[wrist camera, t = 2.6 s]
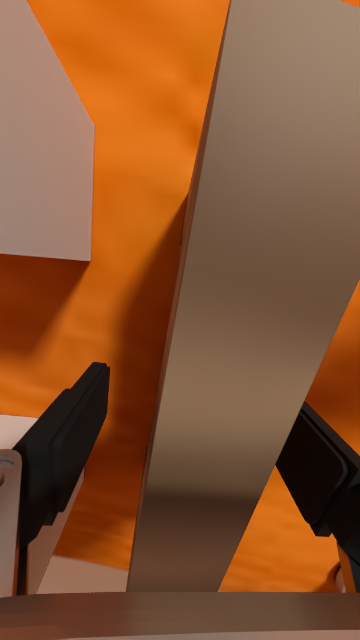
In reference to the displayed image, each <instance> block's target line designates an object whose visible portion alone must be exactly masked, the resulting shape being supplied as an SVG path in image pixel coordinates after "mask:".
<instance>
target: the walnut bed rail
mask: <svg viewBox="0 0 360 640" xmlns="http://www.w3.org/2000/svg"><path fill="white" fill-rule="evenodd" d="M180 245H181V251H180V257H179V263H178V269H177V275H176V281H175V287H174V293H173V299H172V306H171V312H170V318H169V324H168V330H167V336H166V342H165V348H164V354H163V360H162V366H161V372H160V378H159V384H158V390H157V396H156V402H155V408H154V414H153V420H152V426H151V432H150V438H149V444H148V446H147V449H146V456H145V462H144V468H143V475H142V482H141V489H140V496H139V503H138V510H137V517H136V524H135V531H134V538H133V545H132V552H131V559H130V566H129V573H128V580H127V587H126V592H217V591H218V589H219V587H220V585H221V582H222V580H223V578H224V576H225V574H226V571H227V569H228V567H229V565H230V563H231V560H232V558H233V556H234V554H235V552H236V549H237V547H238V545H239V543H240V541H241V538H242V536H243V534H244V532H245V530H246V527H247V525H248V523H249V521H250V519H251V516H252V514H253V512H254V510H255V508H256V505H257V503H258V501H259V499H260V497H261V494H262V492H263V490H264V488H265V486H266V483H267V481H268V479H269V477H270V475H271V472H272V470H273V468H274V466H275V464H276V461H277V459H278V457H279V455H280V453H281V450H282V448H283V446H284V444H285V442H286V439H287V437H288V435H289V433H290V431H291V428H292V426H293V424H294V422H295V420H296V417H297V415H298V413H299V411H300V409H301V406H302V404H303V402H304V400H305V398H306V395H307V393H308V391H309V389H310V387H311V384H312V382H313V380H314V378H315V376H316V373H317V371H318V369H319V367H320V365H321V362H322V360H323V358H324V356H325V354H326V351H327V349H328V347H329V345H330V343H331V340H332V338H333V336H334V334H335V332H336V329H337V327H338V325H339V323H340V321H341V319H342V316H343V314H344V312H345V310H346V308H347V305H348V303H349V301H350V299H351V297H352V294H353V292H354V290H355V288H356V286H357V283H358V281H359V279H360V8H359V7H356V6H354V5H351V4H348V3H345V2H343V1H340V0H230V3H229V7H228V12H227V17H226V21H225V26H224V31H223V35H222V40H221V44H220V49H219V54H218V58H217V63H216V67H215V72H214V77H213V81H212V86H211V90H210V95H209V100H208V104H207V109H206V114H205V118H204V123H203V127H202V132H201V137H200V141H199V146H198V150H197V155H196V160H195V164H194V169H193V174H192V178H191V183H190V187H189V192H188V198H187V204H186V210H185V216H184V222H183V229H182V235H181V241H180Z"/></svg>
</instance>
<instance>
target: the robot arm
mask: <svg viewBox="0 0 360 640" xmlns="http://www.w3.org/2000/svg"><path fill="white" fill-rule="evenodd" d="M109 378H110V367H107V365H106V363H99V362H93V363H92V364H91V365H90V366H89V368H88V369H87V370H86V371H85V372H84V374H83V375H82V376H81V377H80V378H79V380H78V381H77V382H76V383H75V384H74V386H73V387H72V388H71V389H65V390H64V391H63V392H62V393H61V394H60V395H59V396H58V397H57V398H56V399H55V400H54V402H53V403H52V404H51V405H50V406H49V407H48V408H47V410H46V411H45V412H44V413H43V414H42V415H41V416H40V417H39V419H38V420H37V421H36V422H35V423H34V424H33V425H32V427H31V428H30V429H29V430H28V431H27V432H26V433H25V434H24V436H23V437H22V438H21V439H20V440H19V441H18V442H17V443H16V445H15V446H14V447H13V448H12V449H0V640H360V456H359V455H358V454H357V453H356V452H355V451H354V450H353V449H352V448H351V447H350V446H349V445H348V444H347V443H346V442H345V441H344V440H343V439H342V438H341V437H340V436H339V435H338V434H337V433H336V432H335V431H334V430H333V429H332V428H331V427H330V426H329V425H328V424H327V423H326V422H325V421H324V420H323V419H322V418H321V417H320V416H319V415H318V414H317V413H316V412H315V411H314V410H313V409H312V408H311V407H310V406H309V405H308V404H307V403H306V402H305V401H304V402H303V404H302V406H301V409H300V411H299V413H298V415H297V417H296V420H295V422H294V424H293V426H292V428H291V431H290V433H289V435H288V437H287V439H286V442H285V444H284V446H283V448H282V450H281V453H280V455H279V457H278V459H277V461H276V464H275V465H276V467H277V469H278V471H279V473H280V474H281V476H282V478H283V480H284V482H285V484H286V486H287V488H288V490H289V492H290V493H291V495H292V497H293V499H294V501H295V503H296V505H297V507H298V509H299V511H300V512H301V514H302V516H303V518H304V520H305V521H306V522H307V523H309V525H310V527H311V528H312V530H313V532H314V534H315V536H322V537H329V536H330V535H331V533H333V535H334V537H335V538H336V541H337V549H338V554H339V559H340V564H341V568H340V570H339V571H338V573H337V576H336V586H337V588H338V590H339V592H340V593H315V592H95V593H62V594H30V595H28V577H29V543H30V542H32V541H33V540H34V539H35V538H37V536H38V534H39V532H40V530H41V528H42V526H52V525H53V523H54V521H55V519H56V516H57V514H58V512H64V510H65V509H66V507H67V505H68V502H69V500H70V498H71V495H72V493H73V491H74V489H75V486H76V484H77V482H78V480H79V477H80V475H81V473H82V470H83V468H84V466H85V464H86V461H87V459H88V457H89V455H90V452H91V450H92V448H93V445H94V443H95V441H96V439H97V436H98V434H99V432H100V430H101V427H102V425H103V423H104V420H105V418H106V414H107V406H108V392H109Z"/></svg>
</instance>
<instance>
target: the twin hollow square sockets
mask: <svg viewBox="0 0 360 640" xmlns="http://www.w3.org/2000/svg"><path fill="white" fill-rule="evenodd" d="M94 132H95V126H94V124H93V122H92V120H91V118H90V117H89V115H88V113H87V111H86V109H85V107H84V106H83V104H82V102H81V100H80V98H79V96H78V95H77V93H76V91H75V89H74V87H73V85H72V84H71V82H70V80H69V78H68V76H67V74H66V72H65V71H64V69H63V67H62V65H61V63H60V61H59V60H58V58H57V56H56V54H55V52H54V50H53V49H52V47H51V45H50V43H49V41H48V39H47V38H46V36H45V34H44V32H43V30H42V28H41V26H40V25H39V23H38V21H37V19H36V17H35V15H34V14H33V12H32V10H31V8H30V6H29V4H28V3H27V1H26V0H0V254H12V255H24V256H35V257H47V258H59V259H70V260H82V261H91V231H92V198H93V165H94ZM38 419H39V418H32V417H21V416H11V415H0V449H12V448H13V447H14V446H15V445H16V443H17V442H18V441H19V440H20V439H21V438H22V437H23V436H24V434H25V433H26V432H27V431H28V430H29V429H30V428H31V427H32V425H33V424H34V423H35V422H36V421H37V420H38ZM83 480H84V468H83V470H82V473H81V475H80V477H79V480H78V482H77V484H76V486H75V489H74V491H73V493H72V495H71V498H70V500H69V502H68V505H67V507H66V509H65V510H64V512H58V514H57V516H56V519H55V521H54V523H53V525H52V526H42V528H41V530H40V532H39V534H38V536H37V538H35V539H34V540H33V541H32V542H30V543H29V577H28V595H30V594H36V593H37V590H38V588H39V585H40V583H41V581H42V578H43V576H44V573H45V571H46V569H47V566H48V564H49V561H50V559H51V557H52V554H53V552H54V549H55V547H56V545H57V542H58V540H59V538H60V535H61V533H62V530H63V528H64V526H65V523H66V521H67V518H68V516H69V514H70V511H71V509H72V506H73V504H74V502H75V499H76V497H77V494H78V492H79V490H80V487H81V485H82V482H83Z"/></svg>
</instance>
